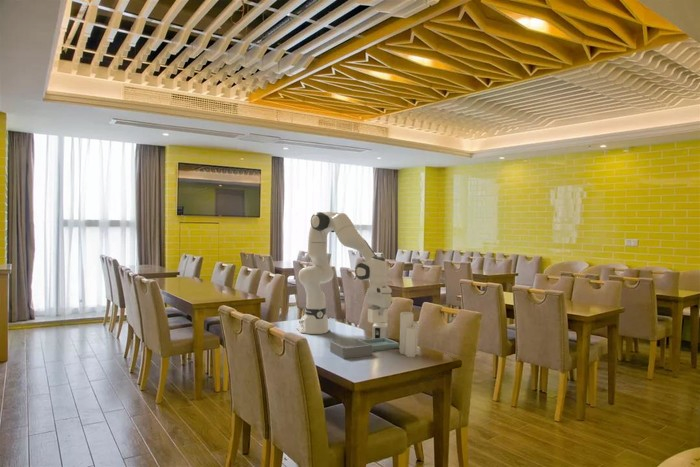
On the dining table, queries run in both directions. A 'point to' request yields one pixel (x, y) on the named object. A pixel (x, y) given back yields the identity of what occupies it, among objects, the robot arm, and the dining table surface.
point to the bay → (351, 349)
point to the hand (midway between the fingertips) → (377, 314)
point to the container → (380, 330)
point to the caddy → (376, 314)
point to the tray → (381, 344)
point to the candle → (408, 334)
